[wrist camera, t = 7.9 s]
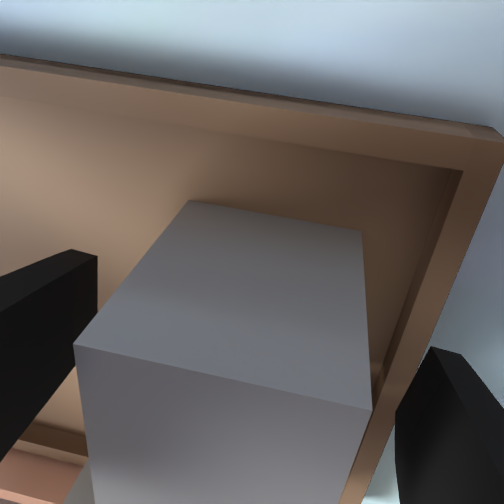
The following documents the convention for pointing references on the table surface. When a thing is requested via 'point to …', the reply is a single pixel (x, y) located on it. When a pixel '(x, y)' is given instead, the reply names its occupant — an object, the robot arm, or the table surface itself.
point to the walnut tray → (237, 201)
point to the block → (229, 365)
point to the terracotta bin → (36, 478)
